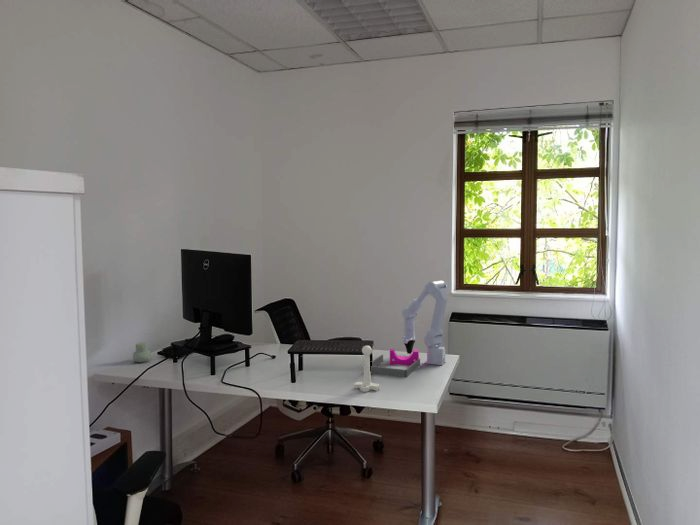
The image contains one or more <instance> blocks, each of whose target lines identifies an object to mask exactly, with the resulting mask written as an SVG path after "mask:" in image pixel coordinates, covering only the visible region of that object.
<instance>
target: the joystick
mask: <svg viewBox="0 0 700 525" xmlns="http://www.w3.org/2000/svg"><path fill="white" fill-rule="evenodd" d="M372 350H373V349H372V347H371V346H370V345H363V347H362V348H361V352H362V354H363V356H364V359H363V379H362V380H363V381H356V382H355V383H354V386H353V387H354V389H360V391H361V392H363V393H368V392H369V391H370V390H373V391H376V392H377V391H380V384H379V383H374V382H372V375H371V374H372V373H371V372H370V362H371V361H370V360H371V359H370V358H371V357H370V356H371V354H372V353H373V351H372Z"/></svg>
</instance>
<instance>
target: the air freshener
mask: <svg viewBox="0 0 700 525" xmlns="http://www.w3.org/2000/svg"><path fill="white" fill-rule="evenodd" d="M151 356H152V353H151V351H150V350H149V349H148V343H147V342H138V343H135V351H134V352H133V354H132V360H133V362H135V363H147V362H148V361H151V359H152V358H151Z"/></svg>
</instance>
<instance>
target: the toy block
mask: <svg viewBox="0 0 700 525" xmlns="http://www.w3.org/2000/svg"><path fill="white" fill-rule="evenodd" d="M419 351H420V350H418V349H412V353H411V354H409V355H408V356H402V355H398V354H397V353H396V350H395V348H394V349H393V348H392V349H390V350H389V365H393V366H394V365H395V366H410V365H412V364H413V363H414V362H415V361H416V360H418V359H420V354H419V353H420V352H419Z"/></svg>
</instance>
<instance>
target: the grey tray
mask: <svg viewBox="0 0 700 525" xmlns="http://www.w3.org/2000/svg"><path fill="white" fill-rule="evenodd" d="M371 362H372V366H371V374H375V375H384V376H389V377H390V376H391V377H399V378H401V377H402V378H408V377H409V376H410V375H411V374H412V373H413V372H414V371H415V370H417V369H418V368H419V367H420V366H421V358H419V359H418V360H416V361H415V362H414V363H413V364H412V365H408V367H406V369H401V368H395V367H394V368H391V367H383V366H378V365H380V364H381V363H383V362H384V355H383V354H381V355H379V356H377V358H375V359H373V360H371Z"/></svg>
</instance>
